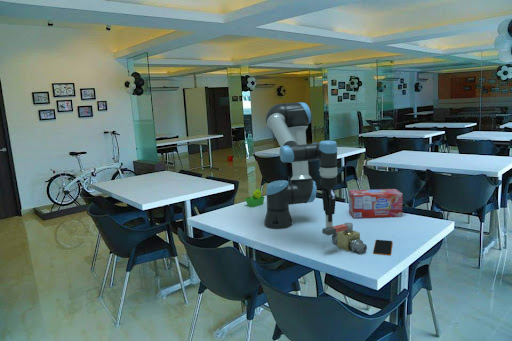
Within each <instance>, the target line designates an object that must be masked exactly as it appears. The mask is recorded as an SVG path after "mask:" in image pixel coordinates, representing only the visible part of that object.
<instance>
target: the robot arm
mask: <svg viewBox="0 0 512 341" xmlns="http://www.w3.org/2000/svg"><path fill="white" fill-rule="evenodd" d="M266 112H267V113H266V114H265V123H266V125H267V127H268V128H269V129H270V130H272V133H273V135H274V137H275V139H276V141H277V142H278V145H279V146H280V147H279V151H278V152H279V158H280V161H281V162H282V163H291V167H292V176H291V178H290V182H289V181H288V180H286V179H285V180H284V179H282V180H274V181H271V182H270V183H268V184H266V191H265V194H266V195H265V196H266V214H265V217H264V222H263V223H264V224H263V225H264V227H266V228H268V229H276V230H277V229H279V230H280V229H287V228H289V227H291V226H293V218H292V215H291V212H290V209H289V208H290V207H289V206H290V205H299V204H300V205H301V204H309V203H313V202H314V201H315V200H316V196H317V192H318V190H317V182H316V181H315V180H313V178H312V176H311V175H310V173H309V163H308V162H309V161H311V162H312V161H319V169H318V172H319V176H320V177H319V185H320V186H321V187H323V188H322V189H321V195H322V196H321V197H322V204H323V206H322V207H323V211H324V214H325V228H327V227H333V226H334V225H333V215H335V211H336V199H337V193H336V194H335V188H334V187H335V186H336V187H337V185H338V146H337V145H338V143H337V142H336V141H335V140H321V141H319V142H313V143H307V133H306V132H307V129H308V127H309V124H311V121H312V112H311V109H310V107H309V104H307V103H306V102H300V101H299V102H284V103H281V102H280V103H276V104H274V105H272V106H271V107H270V108H269V109H268V110H267V111H266Z"/></svg>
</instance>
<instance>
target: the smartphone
mask: <svg viewBox="0 0 512 341" xmlns="http://www.w3.org/2000/svg"><path fill="white" fill-rule="evenodd" d="M392 250H393V241H392V240H386V239H376V240H375V241H374V247H373V250H372V254H373V255H377V256H378V255H380V256H390V257H391V256H392Z"/></svg>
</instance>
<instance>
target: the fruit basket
mask: <svg viewBox="0 0 512 341" xmlns="http://www.w3.org/2000/svg"><path fill="white" fill-rule="evenodd" d="M265 197H266V196H264V195H262V191H261V189H260V188H256V189H255V190H254V191H253V193H252V196H249V197H245V198H244V199H245V200H244V201H245V203H246V205H247V207H251V208H255V207H258V206H263V205H264V201H265V199H266V198H265Z"/></svg>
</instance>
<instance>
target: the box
mask: <svg viewBox="0 0 512 341" xmlns="http://www.w3.org/2000/svg"><path fill="white" fill-rule="evenodd" d="M403 196H404V195H403V192H401V191H400V190H398V189H396V188H383V189H382V188H379V189H378V188H377V189H375V188H374V189H349V190H348V212H349V214H350V215H351V217H352V219H371V218H372V219H373V218H374V219H375V218H379V219H380V218H381V219H382V218H401V217H403Z"/></svg>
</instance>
